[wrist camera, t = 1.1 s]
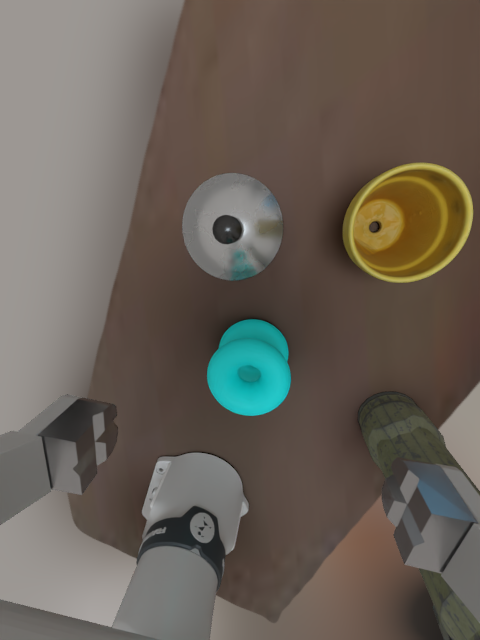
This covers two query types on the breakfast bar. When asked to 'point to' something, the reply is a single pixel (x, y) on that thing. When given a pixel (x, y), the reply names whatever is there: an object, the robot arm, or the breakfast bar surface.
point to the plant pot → (408, 222)
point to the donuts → (250, 368)
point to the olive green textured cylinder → (427, 446)
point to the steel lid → (232, 226)
